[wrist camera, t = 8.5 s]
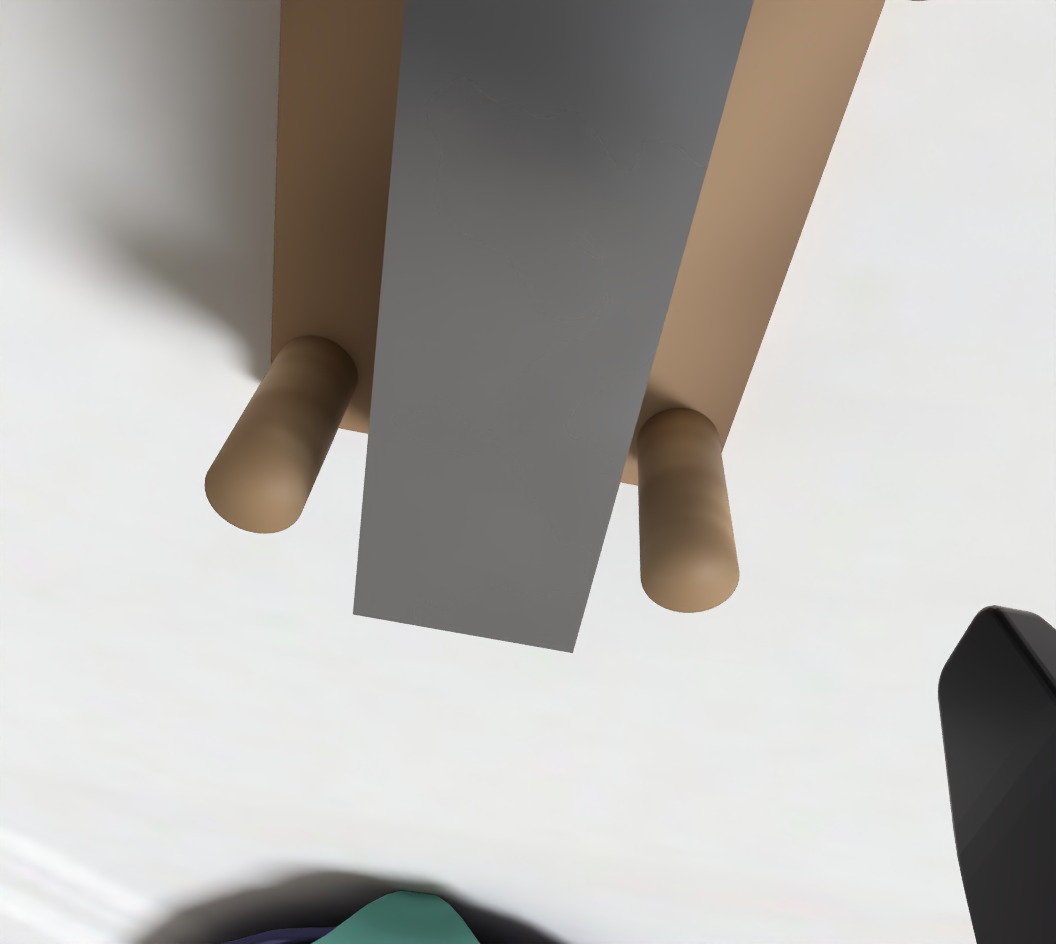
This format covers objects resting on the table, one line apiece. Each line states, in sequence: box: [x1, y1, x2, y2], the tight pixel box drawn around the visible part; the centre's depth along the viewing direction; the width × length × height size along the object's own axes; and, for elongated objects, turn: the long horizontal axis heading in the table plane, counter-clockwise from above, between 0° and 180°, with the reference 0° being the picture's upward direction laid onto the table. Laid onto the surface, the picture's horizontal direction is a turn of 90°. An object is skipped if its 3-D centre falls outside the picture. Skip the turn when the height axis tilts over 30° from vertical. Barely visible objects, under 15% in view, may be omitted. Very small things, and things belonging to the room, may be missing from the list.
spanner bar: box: [353, 0, 754, 653], centre depth 14 cm, size 12×4×5 cm, turn 170°
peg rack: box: [205, 0, 925, 613], centre depth 15 cm, size 9×12×5 cm
